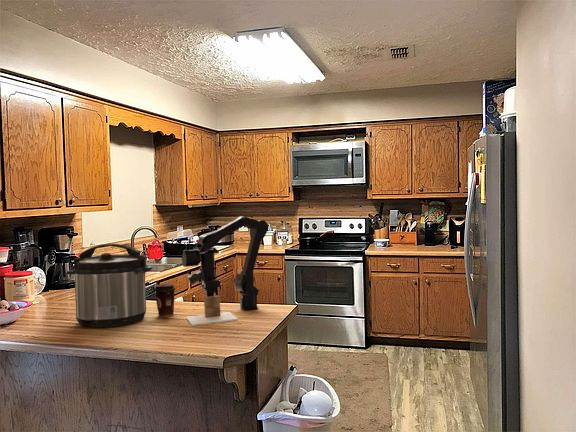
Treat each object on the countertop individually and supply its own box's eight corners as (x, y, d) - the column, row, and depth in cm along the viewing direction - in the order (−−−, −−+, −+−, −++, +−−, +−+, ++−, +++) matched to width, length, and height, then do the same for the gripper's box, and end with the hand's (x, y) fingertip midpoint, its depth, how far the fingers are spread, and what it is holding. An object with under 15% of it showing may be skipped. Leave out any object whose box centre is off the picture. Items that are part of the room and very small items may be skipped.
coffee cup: (155, 318, 197) (153, 287, 196) (155, 314, 205) (153, 284, 204) (176, 316, 199) (175, 285, 199) (176, 312, 207) (174, 282, 207)
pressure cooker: (165, 315, 203) (161, 240, 202) (116, 332, 177) (112, 247, 176) (111, 311, 215) (108, 241, 214) (58, 327, 189) (54, 247, 188)
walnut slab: (219, 315, 196) (218, 295, 196) (220, 316, 194) (219, 296, 194) (204, 316, 194) (204, 297, 193) (205, 317, 192) (204, 297, 192)
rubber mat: (229, 313, 201) (229, 311, 201) (237, 320, 188) (237, 318, 188) (186, 318, 195) (186, 316, 195) (191, 326, 182) (191, 324, 182)
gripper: (184, 263, 205) (186, 300, 205) (192, 268, 187) (193, 308, 188) (210, 261, 209) (212, 297, 209) (220, 266, 191) (221, 305, 192)
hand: (209, 301), depth 199 cm, fingers closed
